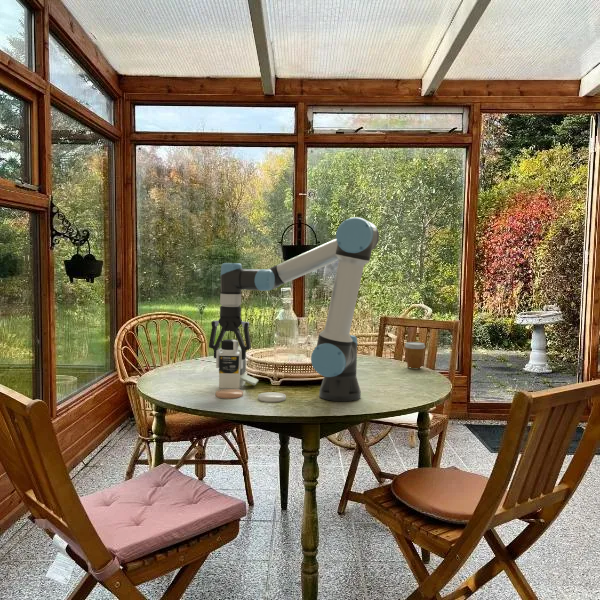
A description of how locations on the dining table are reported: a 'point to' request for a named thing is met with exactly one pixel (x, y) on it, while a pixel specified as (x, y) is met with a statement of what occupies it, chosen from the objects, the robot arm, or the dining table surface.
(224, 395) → the peach round disc
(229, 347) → the medicine bottle
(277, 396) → the white domed round part
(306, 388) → the dining table surface
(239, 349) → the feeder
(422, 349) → the disposable coffee cup
